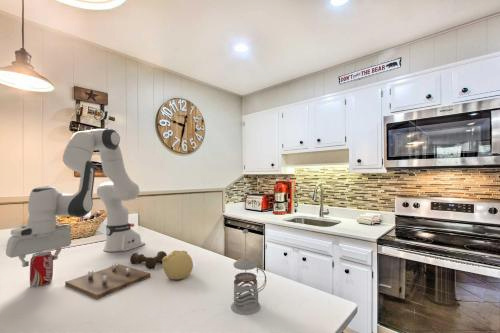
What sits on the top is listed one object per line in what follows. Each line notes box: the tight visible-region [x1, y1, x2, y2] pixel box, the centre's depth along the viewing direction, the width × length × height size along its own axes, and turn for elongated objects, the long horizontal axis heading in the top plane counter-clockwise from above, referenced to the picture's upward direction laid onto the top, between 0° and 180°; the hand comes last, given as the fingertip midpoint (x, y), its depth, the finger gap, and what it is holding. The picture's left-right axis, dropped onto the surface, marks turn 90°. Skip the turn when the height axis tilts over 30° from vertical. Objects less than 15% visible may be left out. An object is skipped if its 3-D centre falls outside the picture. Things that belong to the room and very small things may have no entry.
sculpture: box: [161, 250, 194, 280], centre depth 106 cm, size 12×12×11 cm
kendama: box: [129, 250, 168, 270], centre depth 120 cm, size 6×10×20 cm
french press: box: [230, 228, 267, 316], centre depth 82 cm, size 10×12×25 cm
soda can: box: [29, 250, 54, 288], centre depth 100 cm, size 7×7×12 cm
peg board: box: [64, 263, 151, 300], centre depth 102 cm, size 22×22×4 cm
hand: (40, 262), depth 99 cm, fingers open, 8 cm apart
